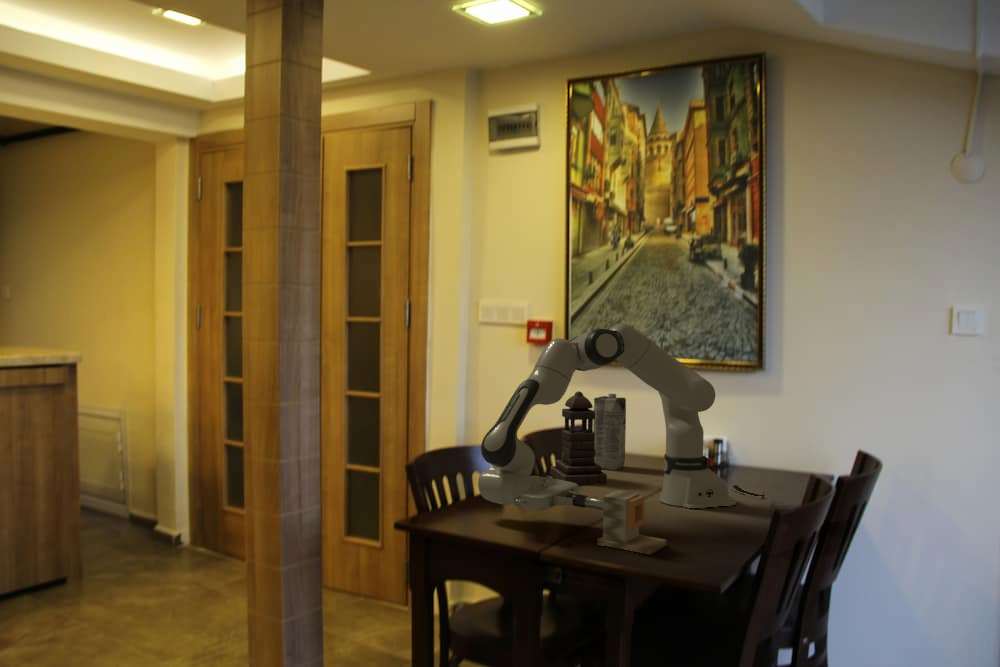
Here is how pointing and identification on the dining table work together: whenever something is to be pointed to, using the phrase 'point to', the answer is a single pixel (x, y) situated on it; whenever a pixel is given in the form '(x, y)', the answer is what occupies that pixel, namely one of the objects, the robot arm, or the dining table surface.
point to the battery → (610, 431)
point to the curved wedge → (745, 491)
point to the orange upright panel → (630, 514)
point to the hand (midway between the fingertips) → (577, 500)
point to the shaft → (588, 501)
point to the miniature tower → (578, 445)
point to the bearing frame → (624, 526)
